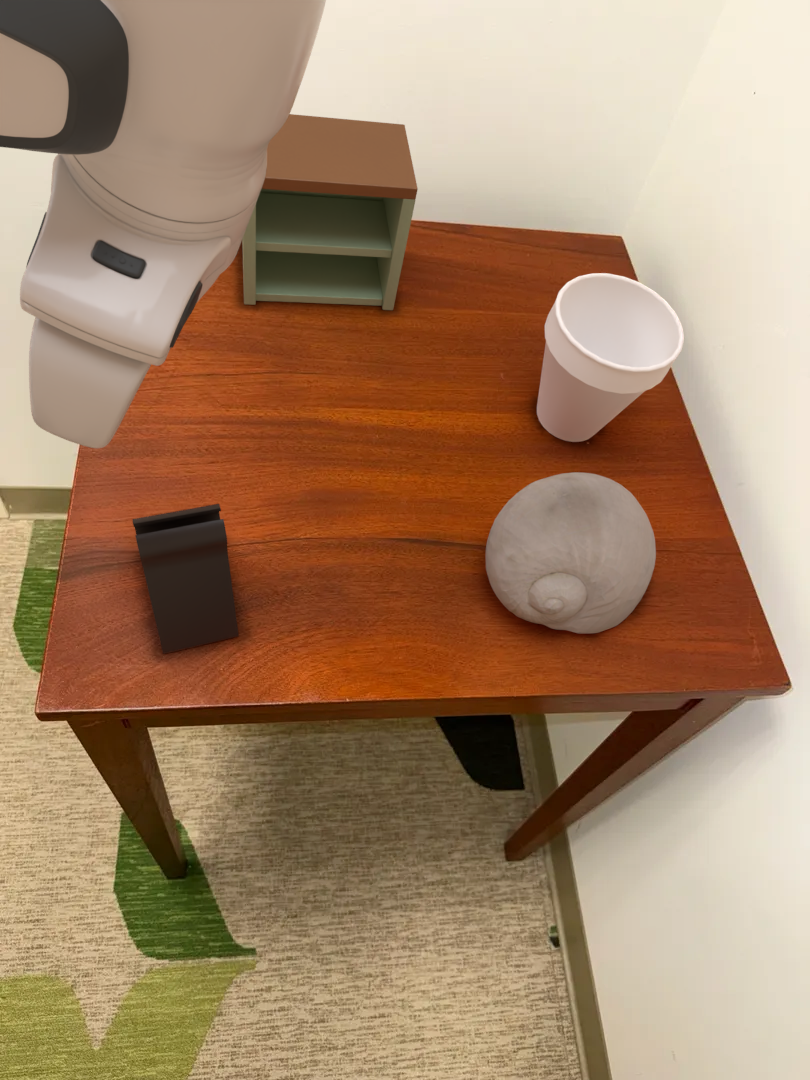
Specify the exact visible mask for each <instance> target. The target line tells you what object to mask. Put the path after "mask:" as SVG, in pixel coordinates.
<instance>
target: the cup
mask: <svg viewBox="0 0 810 1080" xmlns="http://www.w3.org/2000/svg"><path fill="white" fill-rule="evenodd" d="M681 322H682V321H681V320H680V318H679V316H678V314H677V312H676V311H675V310H674V308H673V307H672V306H671V305H670V303H669V302H668V301H667V300H666V299H665V298H664V297H662V296H661V295H660V294H659V293H658V292H656V291H655V290H653V289H652V288H650V287H648V286H646V285H645V284H643V283H641V282H640V281H638V280H635V279H631V278H630V277H627V276H624V275H618V274H613V273H608V272H607V273H606V272H601V273H599V272H593V273H587V274H583V275H579V276H577V277H574V278H573V279H571V280H569V281H567V282H566V283H565V284H564V285H563V286H562V287H561V288H560V290H559V291H558V292H557V296H556V298H555V301H554V303H553V305H552V307H551V308H550V311H549V312H548V314H547V317H546V319H545V323H544V339H545V344H544V352H543V359H542V366H541V374H540V379H539V386H538V387H539V388H538V395H537V402H536V415H537V418H538V422H539V423H540V425H541V426H542V427H543V429H545V430H546V431H547V432H548V433H549V434H550V435H552V436H554V437H555V438H557V439H559V440H562V441H565V442H570V443H571V442H572V443H579V442H581V443H582V442H584V441H588V440H590V439H591V438H592V437H594V436H595V435H596V434H597V433H598V432H600V430H602V429H603V428H604V427H606V425H608V423H610V422H611V421H612V420H614V419H615V418H616V417H617V416H618V415H619V414H620V413H621V412H622V411H624V410H625V409H626V408H627V407H628V406H629V405H631V404H632V403H633V402H634V401H635V400H636V399H638V398H639V397H640V396H642V395H643V394H644V393H645V392H646V391H648V390H651V389H653V388H654V387H656V386H657V385H659V384H660V383H662V382H663V380H664V378H665V377H666V376H667V374H668V372H669V371H670V369H671V367H672V366H673V364H674V362H675V361H676V360H677V359H678V357H679V355H680V354H681V353H682V351H683V347H684V341H685V335H684V334H685V333H684V328H683V324H682V323H681Z"/></svg>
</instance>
